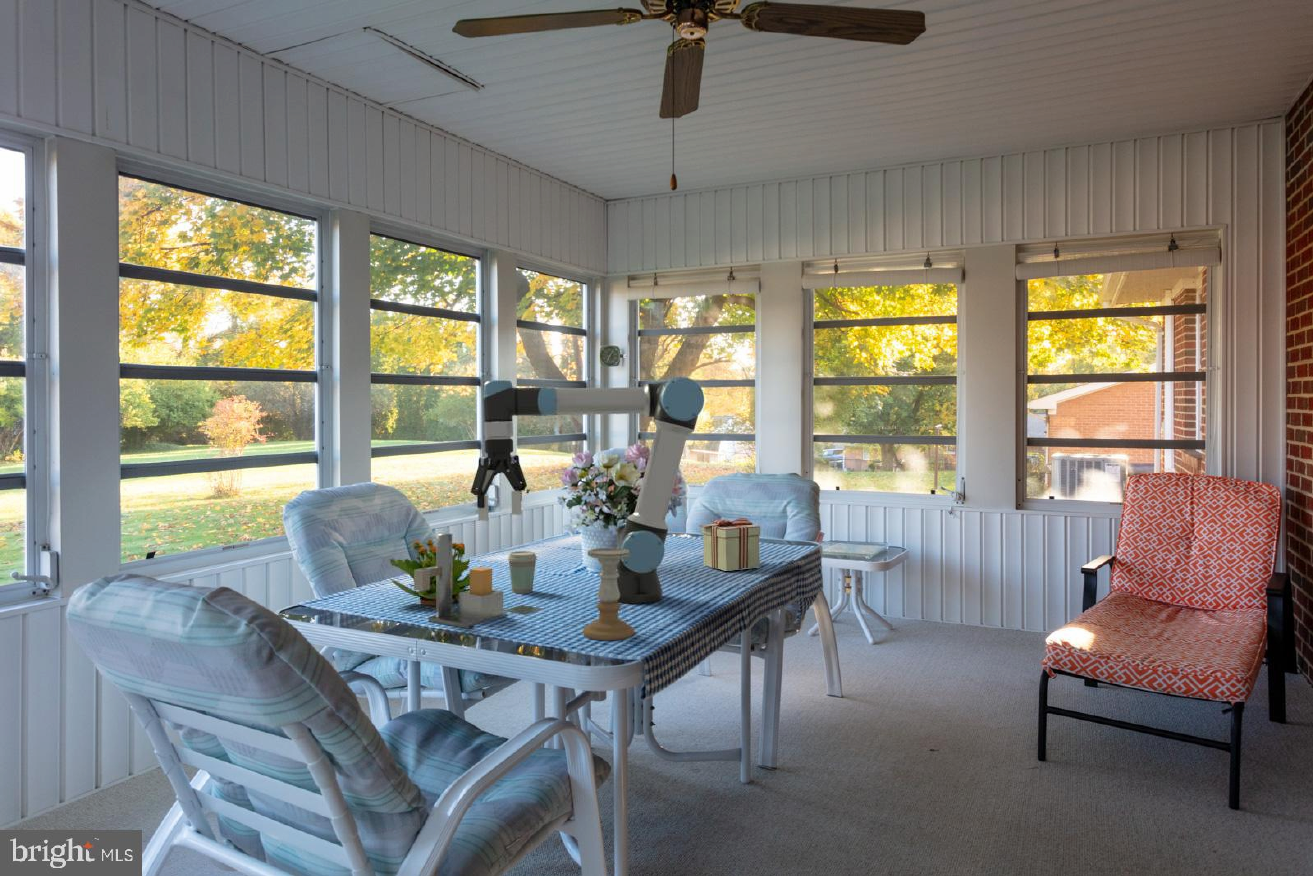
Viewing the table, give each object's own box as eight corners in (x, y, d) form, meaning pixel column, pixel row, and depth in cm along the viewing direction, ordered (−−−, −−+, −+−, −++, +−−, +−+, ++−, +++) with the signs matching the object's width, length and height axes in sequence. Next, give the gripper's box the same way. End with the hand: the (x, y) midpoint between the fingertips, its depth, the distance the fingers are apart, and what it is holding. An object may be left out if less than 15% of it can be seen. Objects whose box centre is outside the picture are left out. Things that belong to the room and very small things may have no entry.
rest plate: (544, 611, 224) (544, 608, 224) (525, 617, 217) (525, 614, 217) (521, 607, 228) (521, 605, 228) (502, 613, 221) (502, 610, 221)
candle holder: (580, 640, 195) (581, 555, 194) (585, 627, 207) (585, 546, 207) (633, 641, 195) (633, 555, 194) (634, 627, 207) (635, 547, 207)
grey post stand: (507, 617, 217) (507, 533, 216) (453, 633, 200) (453, 542, 200) (467, 610, 224) (468, 529, 223) (412, 625, 208) (412, 537, 207)
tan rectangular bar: (492, 614, 215) (492, 568, 215) (481, 617, 212) (481, 570, 212) (480, 612, 217) (480, 567, 217) (469, 615, 214) (469, 569, 214)
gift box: (728, 561, 305) (729, 514, 304) (762, 569, 290) (763, 519, 289) (691, 565, 295) (692, 517, 295) (725, 574, 280) (725, 523, 279)
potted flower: (456, 615, 219) (456, 549, 218) (373, 610, 223) (373, 545, 223) (491, 595, 243) (492, 535, 243) (416, 591, 248) (416, 533, 247)
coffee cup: (539, 590, 250) (539, 551, 250) (532, 596, 242) (532, 555, 242) (512, 590, 251) (512, 550, 251) (504, 596, 243) (504, 555, 242)
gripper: (517, 436, 235) (518, 511, 236) (455, 439, 213) (457, 522, 214) (538, 436, 231) (540, 512, 232) (478, 439, 210) (480, 523, 210)
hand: (500, 517), depth 223 cm, fingers open, 13 cm apart
